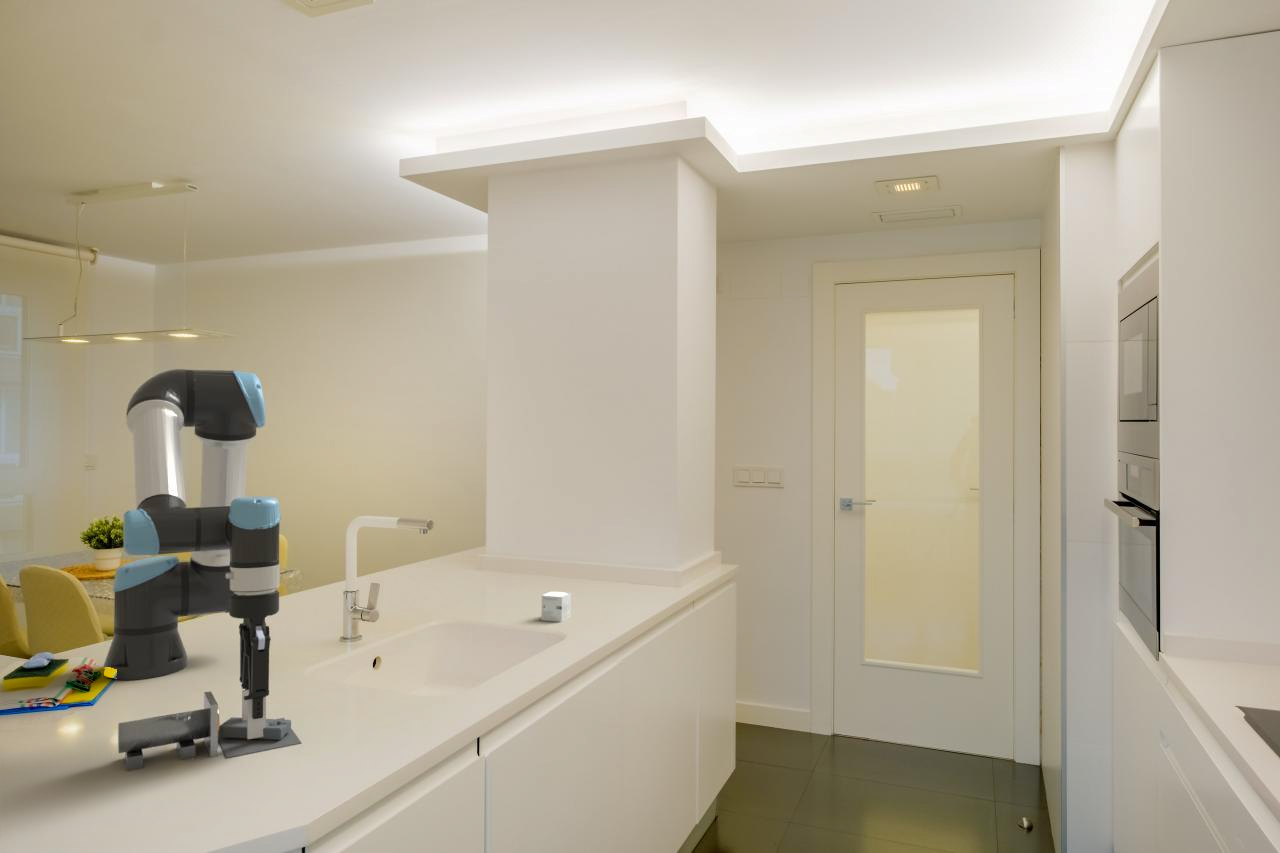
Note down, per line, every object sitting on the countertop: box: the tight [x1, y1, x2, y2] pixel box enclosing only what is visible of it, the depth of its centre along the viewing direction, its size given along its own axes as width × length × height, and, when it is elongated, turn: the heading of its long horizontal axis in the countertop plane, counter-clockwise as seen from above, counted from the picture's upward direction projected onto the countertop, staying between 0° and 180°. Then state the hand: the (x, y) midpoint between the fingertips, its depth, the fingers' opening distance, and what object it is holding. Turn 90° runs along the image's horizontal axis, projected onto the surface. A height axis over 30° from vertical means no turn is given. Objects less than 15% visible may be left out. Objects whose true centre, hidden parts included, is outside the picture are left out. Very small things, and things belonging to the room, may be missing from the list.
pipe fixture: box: [117, 691, 221, 772], centre depth 130 cm, size 8×13×8 cm, turn 124°
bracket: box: [219, 716, 292, 740], centre depth 138 cm, size 4×10×2 cm, turn 87°
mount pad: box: [218, 717, 302, 759], centre depth 138 cm, size 14×11×1 cm
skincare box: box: [541, 591, 572, 623], centre depth 223 cm, size 6×6×7 cm
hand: (253, 732), depth 137 cm, fingers closed on bracket, 4 cm apart
